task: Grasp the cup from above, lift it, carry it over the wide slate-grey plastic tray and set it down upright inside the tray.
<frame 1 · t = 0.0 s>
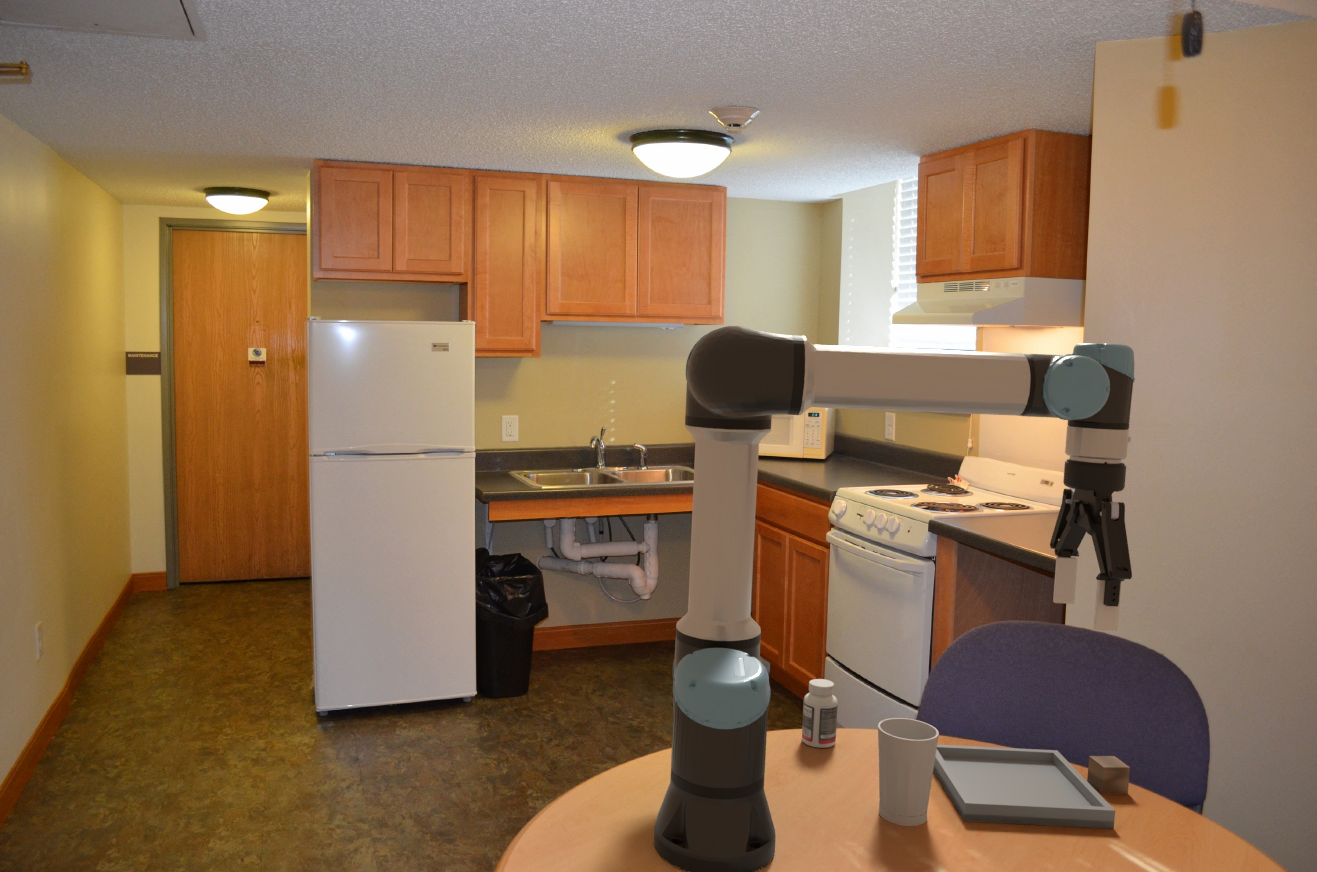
hand: (1083, 615, 131), 28 cm above the table, fingers open, 13 cm apart
tray: (1013, 791, 140), on the table
walnut block: (1107, 787, 143), on the table
cup: (902, 815, 132), on the table
pill bottle: (818, 743, 156), on the table
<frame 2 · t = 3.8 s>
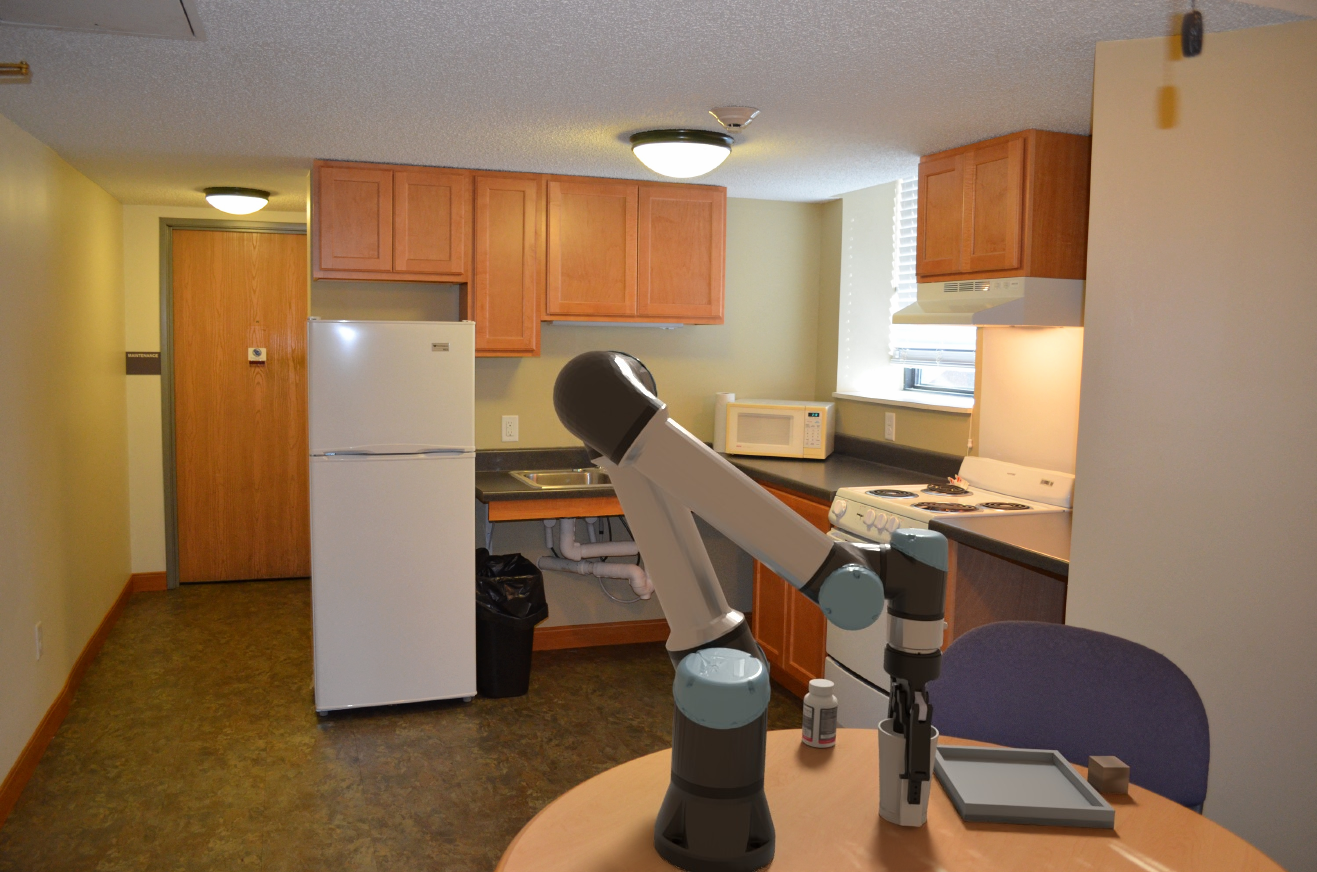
hand: (902, 809, 131), 1 cm above the table, fingers closed on cup, 7 cm apart
cup: (902, 815, 132), on the table, touching gripper
everything else where it was.
when the fingers open (3 cm above the table, at t = 9.3 s): cup drops 1 cm, resting on tray.
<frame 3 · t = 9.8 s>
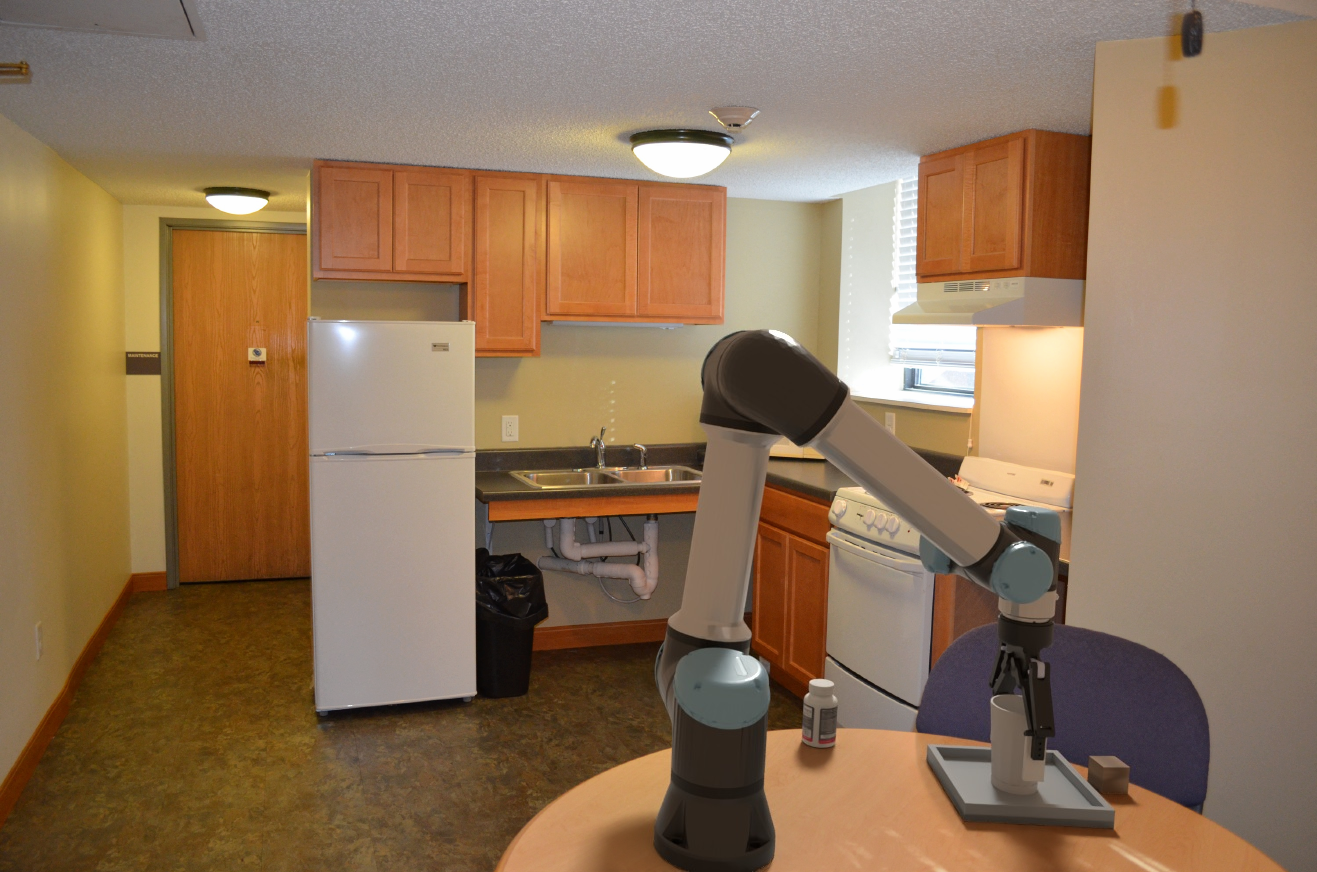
hand: (1015, 759, 140), 5 cm above the table, fingers open, 13 cm apart
cup: (1013, 786, 140), point 1 cm above the table, touching tray
everything else where it was.
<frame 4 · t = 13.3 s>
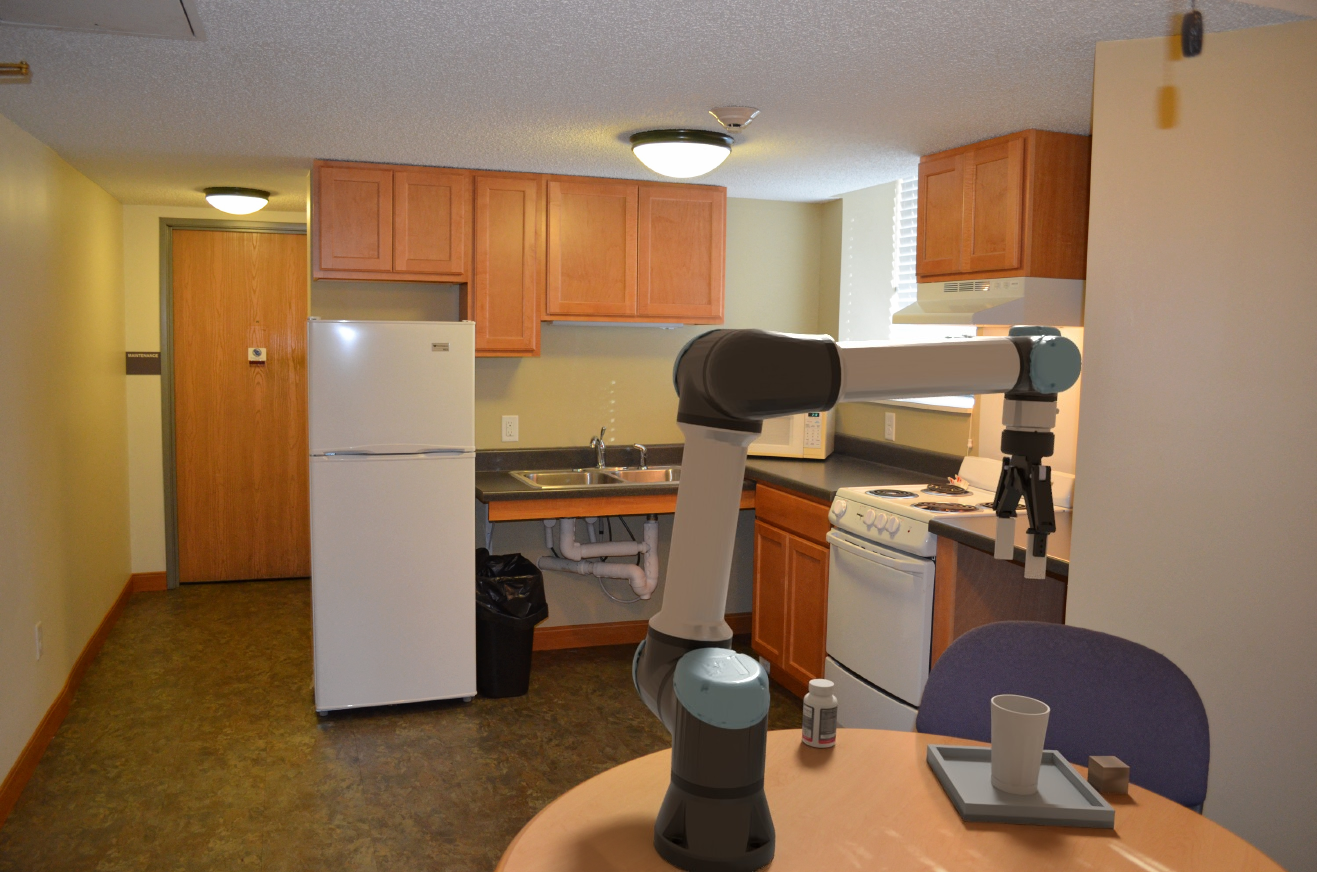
hand: (1018, 568, 148), 31 cm above the table, fingers open, 13 cm apart
nothing on the table moved.
at the end: cup inside the target area on the tray (0.1 cm from its centre), point 0.8 cm above the tray's base; cup tilted 0°; the gripper is holding nothing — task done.
